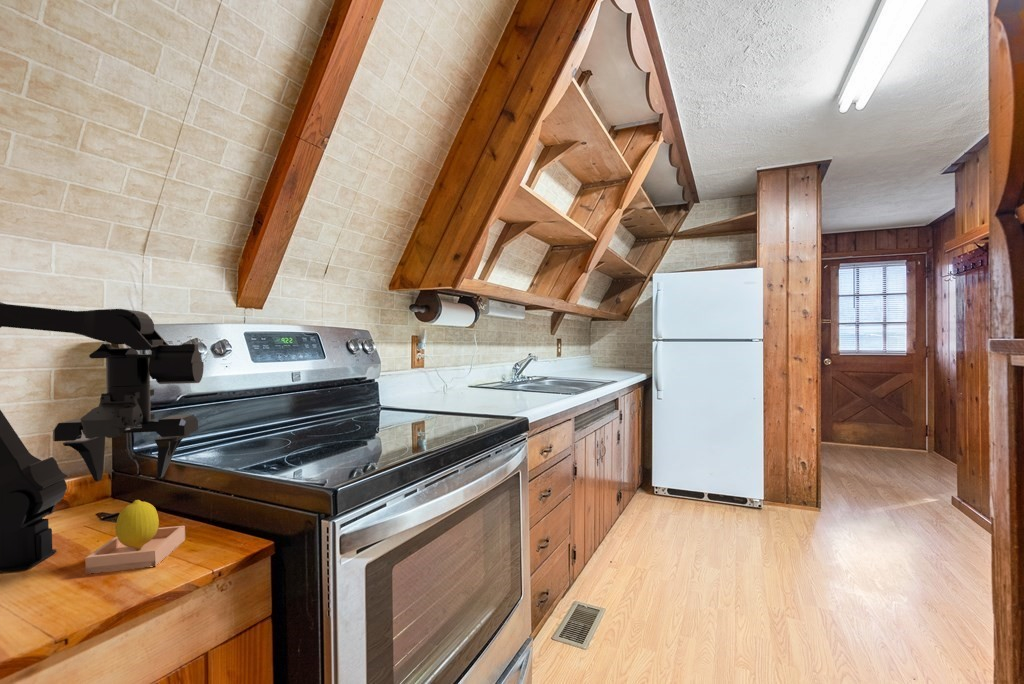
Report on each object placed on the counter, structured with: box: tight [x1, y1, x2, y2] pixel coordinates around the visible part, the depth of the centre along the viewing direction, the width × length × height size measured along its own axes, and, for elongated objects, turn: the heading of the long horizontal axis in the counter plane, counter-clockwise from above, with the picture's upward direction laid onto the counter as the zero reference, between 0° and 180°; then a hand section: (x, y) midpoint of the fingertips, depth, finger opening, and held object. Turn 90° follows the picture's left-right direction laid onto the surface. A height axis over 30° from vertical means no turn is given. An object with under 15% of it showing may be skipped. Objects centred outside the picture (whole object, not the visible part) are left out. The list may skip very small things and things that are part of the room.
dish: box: [84, 525, 186, 575], centre depth 79 cm, size 9×10×2 cm
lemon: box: [115, 499, 160, 550], centre depth 79 cm, size 6×6×8 cm
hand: (129, 479), depth 81 cm, fingers open, 9 cm apart
